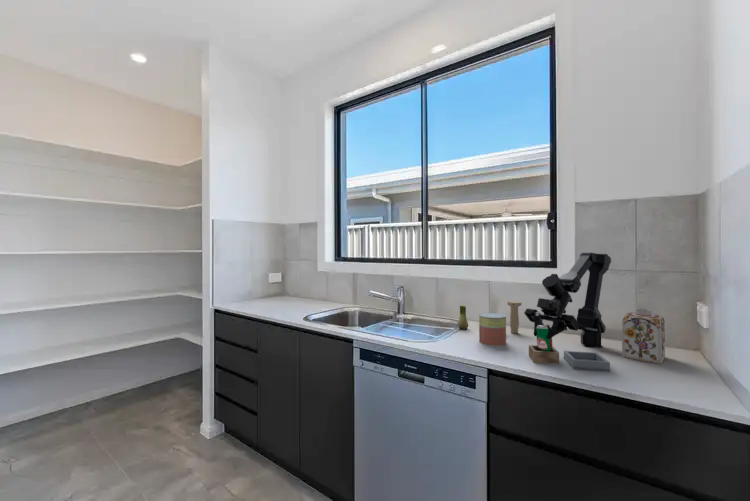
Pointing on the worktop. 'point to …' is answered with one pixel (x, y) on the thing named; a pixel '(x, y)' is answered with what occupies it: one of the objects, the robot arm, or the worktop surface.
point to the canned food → (492, 329)
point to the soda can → (543, 338)
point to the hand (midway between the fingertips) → (541, 337)
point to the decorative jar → (643, 336)
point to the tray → (586, 361)
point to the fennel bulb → (463, 318)
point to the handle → (514, 315)
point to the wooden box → (543, 355)
